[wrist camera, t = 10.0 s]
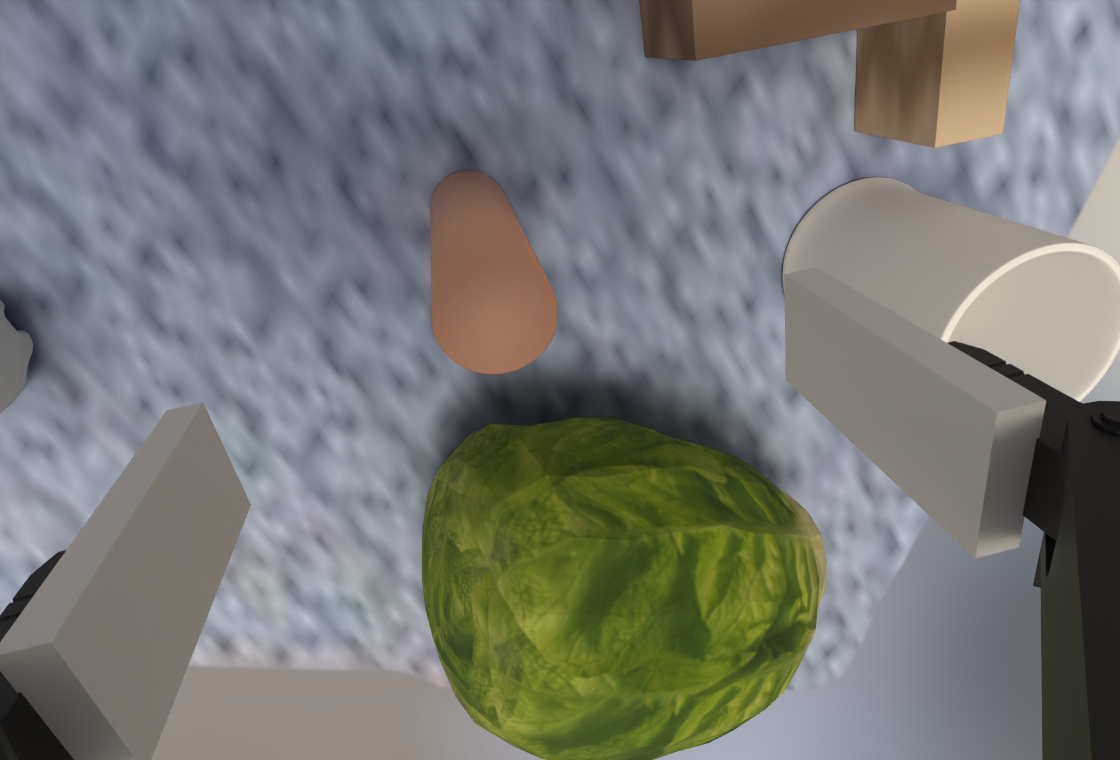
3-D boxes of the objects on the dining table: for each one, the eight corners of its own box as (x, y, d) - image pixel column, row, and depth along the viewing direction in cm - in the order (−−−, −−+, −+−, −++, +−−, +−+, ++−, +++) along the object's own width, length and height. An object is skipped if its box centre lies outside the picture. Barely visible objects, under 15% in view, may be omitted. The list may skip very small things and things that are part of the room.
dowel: (421, 179, 31) (416, 269, 19) (499, 163, 31) (546, 242, 19) (441, 255, 33) (448, 386, 20) (515, 239, 33) (567, 359, 20)
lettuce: (675, 589, 48) (858, 748, 36) (380, 663, 38) (495, 925, 25) (717, 370, 44) (942, 467, 32) (395, 385, 33) (544, 540, 21)
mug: (1007, 181, 36) (1250, 240, 25) (956, 333, 40) (1149, 440, 29) (800, 173, 34) (970, 233, 23) (766, 334, 38) (899, 449, 27)
